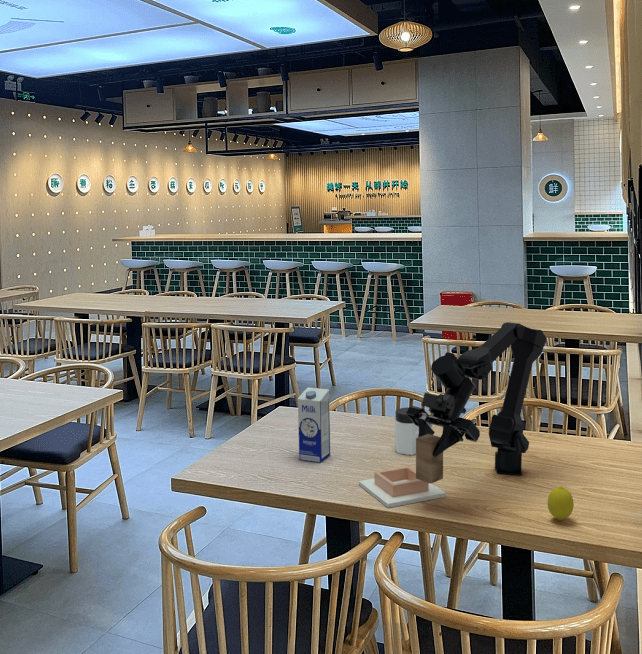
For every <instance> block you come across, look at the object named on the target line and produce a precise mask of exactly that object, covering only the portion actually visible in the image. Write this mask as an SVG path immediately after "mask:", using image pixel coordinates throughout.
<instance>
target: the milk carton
mask: <svg viewBox="0 0 642 654" xmlns="http://www.w3.org/2000/svg"><path fill="white" fill-rule="evenodd" d="M297 412H298V413H297V415H298V416H297V417H298V419H297V420H298V424H297V425H298V455H299V456H298V459H299V461H302V460H304V461H305V462H309V461H310V462H311V463H316V464H317V463H318V464H321V463H323V462H324V461H325V460H327V459H328V458H329V457H331V427H330V426H331V424H330V421H331V420H330V419H331V417H330V415H331V413H330V389H328V388H320V387H319V388H318V387H317V388H316V387H306V389H304V390H303V392H302V393H301V394H300V395H299V396H298V398H297Z"/></svg>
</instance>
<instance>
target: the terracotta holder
mask: <svg viewBox="0 0 642 654" xmlns="http://www.w3.org/2000/svg"><path fill="white" fill-rule="evenodd" d="M373 474H374V477H373V478H369V479H364V480H359V481H358V485H359V486H360V487H361V488H362V489H363V490H364V491H366V492H367V493H369V495H371V496H372V497H373V498H374V499H376V500H377V501H378V502H380V503H381V504H382V505H383V506H385V507H386V508H387V509H389V508H394V507H400V506H404V505H405V506H406V505H411V504H414V503H419V502H421V503H422V502H425V501H429V500H430V501H431V500H435V499H441V498H445V497H446V496H447V495H446V492H445V491H443V490H442V489H440V488H439V487H437V486H436V485H434V483H431V484H430V483H427V482H424V481H421V480H418V479H416V469H415V468H413V467H410V466H402V467H396V468H391V469H390V468H389V469H385V470H377V471H374V473H373Z"/></svg>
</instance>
